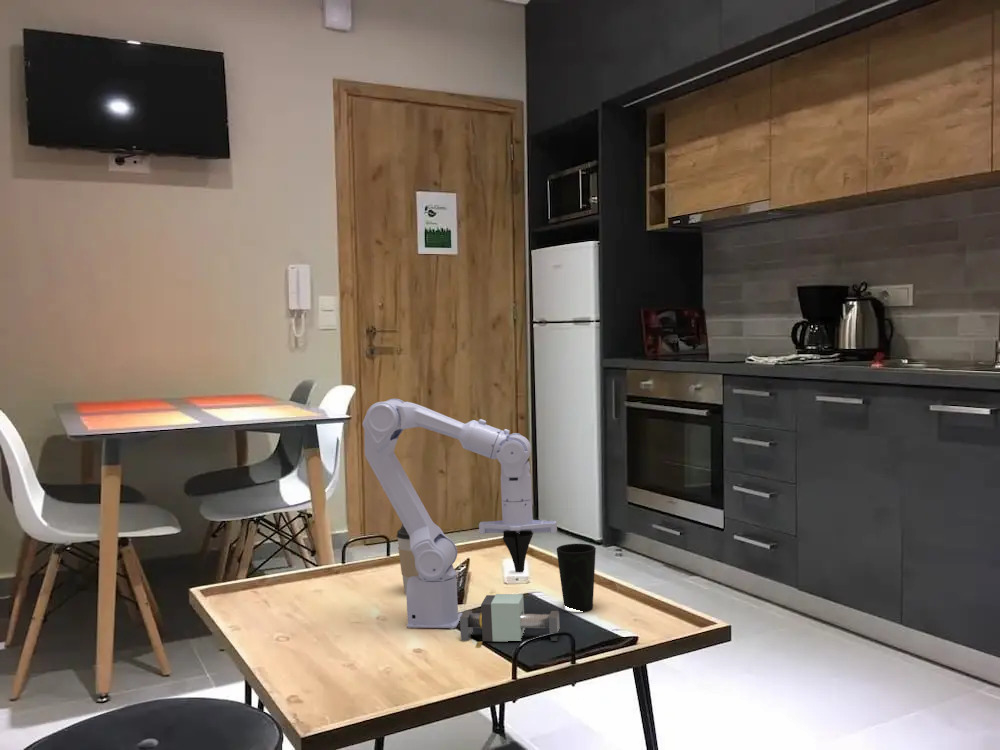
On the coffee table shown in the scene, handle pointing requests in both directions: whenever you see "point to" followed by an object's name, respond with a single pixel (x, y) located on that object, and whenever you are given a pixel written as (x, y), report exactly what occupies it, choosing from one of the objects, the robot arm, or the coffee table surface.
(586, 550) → the cup
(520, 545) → the robot arm
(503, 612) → the sleeve
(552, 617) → the grey shaft
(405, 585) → the coffee cup
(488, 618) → the dark grey flat block
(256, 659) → the coffee table surface
